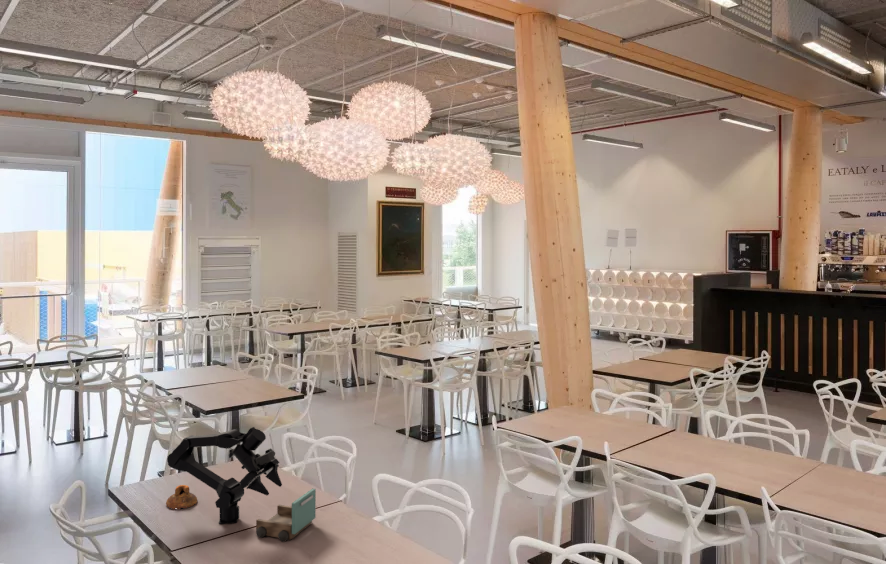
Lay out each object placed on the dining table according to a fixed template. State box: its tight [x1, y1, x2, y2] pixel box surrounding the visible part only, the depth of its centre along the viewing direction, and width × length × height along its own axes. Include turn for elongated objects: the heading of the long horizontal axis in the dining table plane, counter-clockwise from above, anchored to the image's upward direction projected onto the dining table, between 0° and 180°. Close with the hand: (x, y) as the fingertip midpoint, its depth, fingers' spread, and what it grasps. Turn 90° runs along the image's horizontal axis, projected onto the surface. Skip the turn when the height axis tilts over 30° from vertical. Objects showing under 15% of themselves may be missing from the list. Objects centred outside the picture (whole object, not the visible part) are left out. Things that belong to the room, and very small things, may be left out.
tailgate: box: [291, 488, 317, 534], centre depth 237 cm, size 2×15×11 cm, turn 162°
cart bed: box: [255, 504, 313, 542], centre depth 240 cm, size 14×17×6 cm
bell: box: [165, 484, 198, 510], centre depth 263 cm, size 12×12×7 cm
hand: (274, 490), depth 241 cm, fingers open, 9 cm apart
